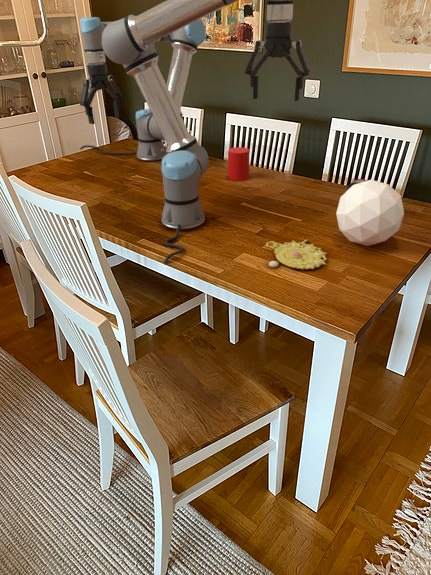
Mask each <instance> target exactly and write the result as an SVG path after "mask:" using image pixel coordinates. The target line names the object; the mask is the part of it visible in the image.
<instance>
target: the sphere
mask: <svg viewBox="0 0 431 575" xmlns="http://www.w3.org/2000/svg"><path fill="white" fill-rule="evenodd" d="M367 180H368V179H367ZM335 216H336V221H337V225H338V230H339V231H340V232H341V233H342V234H343V235H344V236H345V237H346V239H347V240H348V241H349V242H351V243H354V244H357V245H358V244H359V245H361V246H366V247H369V246H373V245H376V244H379V243H383V242H386V241H387V240H388V239H390V238H391V237H392V236H393V235H395V234H396V233H398V231H399V230H400V227H401V225H402V222H403V218H404V216H405V211H404V205H403V200H402V195H401V194H399V193H398V192H397V191H396V190H395V189H394V188H393V187H392V186H391V185H390V184H388V183H386V182H382V181H377V180H374V179H369V180H368V181H365V182H362V183H358V184H355V185H353V186H352V187H351V188H349V189H348V190H347V189H346V191H345V192H344V193H343V194H342V195H341V196H340V198H339V202H338V205H337V209H336V212H335Z"/></svg>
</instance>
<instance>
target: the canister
mask: <svg viewBox="0 0 431 575" xmlns="http://www.w3.org/2000/svg"><path fill="white" fill-rule="evenodd" d="M227 165H228V166H227V171H228V172H227V173H228V174H227V176H228V177H227V178H228V179H229V180H230V181H233V182H242V181H246V180H248V179H250V149H249V148H248V147H242V146H240V147H239V146H237V147H231V148H228V150H227Z"/></svg>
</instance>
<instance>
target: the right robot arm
mask: <svg viewBox="0 0 431 575" xmlns="http://www.w3.org/2000/svg"><path fill="white" fill-rule="evenodd" d="M238 1H239V0H165V1H163V2H161V3H159V4H157V5H155V6H153V7H152V8H150V9H147V10H146V11H144V12H142V13H140V14H137V15H134V14H129V15H127V16H125V17H123V18H120V19H118V20H114V21H110V22H111V23H110V24H108V25H107V26H106V28H105V29H104V31H103V34H102V47H103V50H104V52H105V56H106V57H107V58H108V59H109V60H110V61H112V62H113V63H115V64H118V65H122V66H123V68H124V70H125V72H126V74H127V75H129V76H131V77H133V78H134V80H135V82H136V84H137V86H138V88H139V90H140V92H141V94H142V96H143V99H144V101H145V102H146V105H147V106H148V109H150V111H151V113H152V115H153V117H154V119H155V121H156V123H157V125H158V127H159V129H160V131H161V133H162V135H163V137H164V139H165V141H164V142H165V143H166V148H165V150H166V153H167V155H165V156H164V157H163V159H162V160H161V173H162V174H161V176H162V184H163V194H164V204H163V209H162V213H161V219H160V220H161V225H162V227H163V228H165V229H167V230H170V231H175V235H174V236H173V237H170V238H166V239H165V240H164V244H165V245H166V246H167V247H170V248H171V247H172V248H175V249H176V248H177V249H179V250H177V251H174V252H171V253H169V254H168V255H167V256H166V257H165V259H164V261H163V265H168V262H169V260H170V259H171V258H172V257H173V256H176V255H180V254H182V253H183V252H184V247H183V246H181V245H180V244H175V243H170V242H172V241H175V240H176V239H178V237H179V235H180V232H185V231H186V232H187V231H192V230H195V229H198V228H201V227H202V226H203V225H204V224H205V223H206V216H205V212H204V210H203V208H202V204H201V202H200V196H199V181H200V180H201V179H202V177H203V175H205V173H206V171H207V169H208V166H209V156H208V153H207V150H206V149H205V148H204V147H203V146H202V145H200V144H199V141H198V140H197V137H196V136H194V135H192V134H190V132H189V129H188V128H187V126H186V124H185V121H184V122H183V120H184V119H183V116H182V117H181V115H180V113H179V111H178V109H177V107H176V104H175V102H174V100H173V98H172V96H171V94H170V91H169V89H168V87H167V82H166V80H165V79H164V76H163V74H162V73H161V70H160V68H159V65H158V62H159V59H160V58H159V55H158V53H157V52H158V51H157V50H156V48H155V43H156V42H155V41H157V40H159V39H161V38H163V37H165V36H167V35H169V34H171V33H173V32H175V31H177V30H179V29H181V28H183V27H185V26H187V25H189V24H191V23H193V22H195V21H197V20H199V19H204V18H205V17H207V16H209V15H212V14H213V13H216V12H217V11H219V10H221V9H223V8H225V7H228V6H230V5H231V4H235V3H236V2H238ZM266 4H267V5H266V21H267V23H266V27H265V28H266V29H265V40H263V41H262V40H260V39H259V40H256V41H255V43H254V44H255V45H254V50H253V51H252V54H251V57H250V59H249V61H248V63H247V65H246V67H245V70H244V74H245V75H248V76H249V77H250V88H252V99H253V100H257V99H258V98H259V75H257V74H258V73H259V71H260V70H261V69H262V67H263V66H264V65H265V64H266V62H267V61H268V60H269V59H270V58H279V59H281V58H285V59H286V60H287V61H288V63H289V64H290V66H291V68H292V69H293V70H294V72H295V73H296V75H297V77H296V78H295V90H294V91H295V92H294V102H298V101H299V100H300V90H302V89H303V88H304V80H305V77H307V76H309V75H310V74H311V69H310V67H309V64H308V61H307V59H306V56H305V52H304V50H303V42H302V40H301V39H299V40H294V41H293V40H292V30H293V23H292V22H291V21H292V20H293V16H294V0H266ZM292 47H293V49H294V50H295V51H296V54H297V57H298V59H299V62H300V65H301V66H300V65H299V63H298V62H297V60H296V59H295V58H294V56H293V54H292V52H291V51H290V50H291V48H292ZM263 48H264V49H265V50H266V52H265V53H264V54H263V55H262V58H260V60H259V62H258V63H257V64H256V65H255V63H256V61H257V59H258V57H259V54H260V52H261V50H262V49H263ZM254 65H255V67H254ZM301 67H302V68H301ZM182 119H183V120H182Z"/></svg>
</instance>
